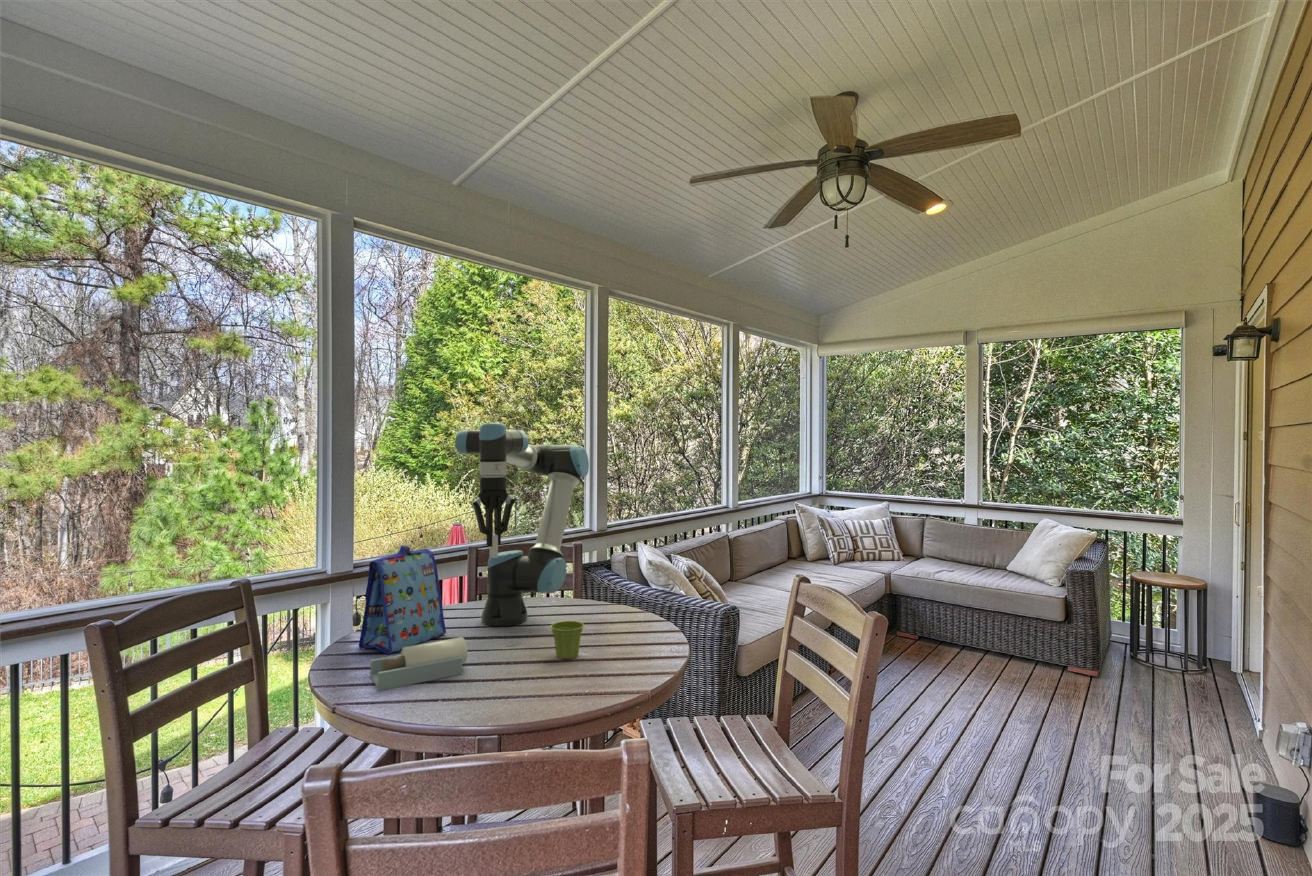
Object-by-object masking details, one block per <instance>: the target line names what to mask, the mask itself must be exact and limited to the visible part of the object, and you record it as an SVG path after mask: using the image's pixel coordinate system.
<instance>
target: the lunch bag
mask: <svg viewBox="0 0 1312 876" xmlns="http://www.w3.org/2000/svg"><path fill="white" fill-rule="evenodd" d="M438 572H439V571H438V567H437V562H436V558H435V556H434V553H433V552H432V550H430V549H428V548H422V549H416V550H411V548H410V546H408V545H404V544H403V545H401V546H400V547H399V551H398V552H397V553H395V554H391V555H387V556H382V557H380V558H377V559H374V560H371V561H370V562H369V566H368V578H367V585H366V589H365V606H364V613H363V617H362V624H361V630H360V636H359V641H358V647H359V649H362V648H365V649H370V648H371V649H372V648H373V649H374V648H375V649H377V650H379V651H380V652H382V653H384V654H385V655H386V654H388V655H390V654H392V653H396V652H398V651H401V649H402V648H403V647H409V646H414V645H419V644H422V643H424V642H426V641H427V642H428V641H429V640H432V639H435V638H436V637H440V636H442V635H445V634H447V627H446V623H445V617H444V609H443V602H442V596H441V588H440V580H439V574H438Z"/></svg>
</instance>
